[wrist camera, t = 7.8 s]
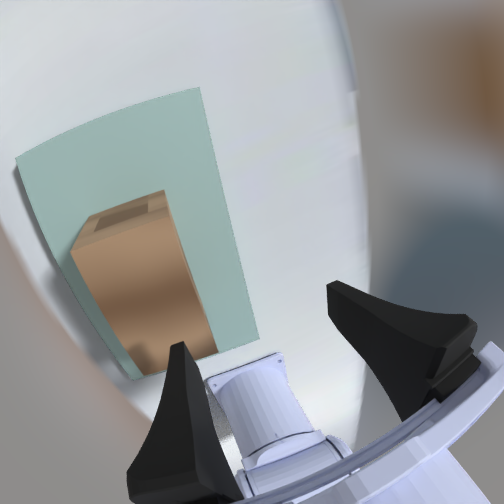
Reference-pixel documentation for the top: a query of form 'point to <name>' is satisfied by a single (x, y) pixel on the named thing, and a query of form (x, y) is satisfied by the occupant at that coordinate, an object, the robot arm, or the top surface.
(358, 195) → the top surface
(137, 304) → the box
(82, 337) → the top surface
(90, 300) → the pin board
